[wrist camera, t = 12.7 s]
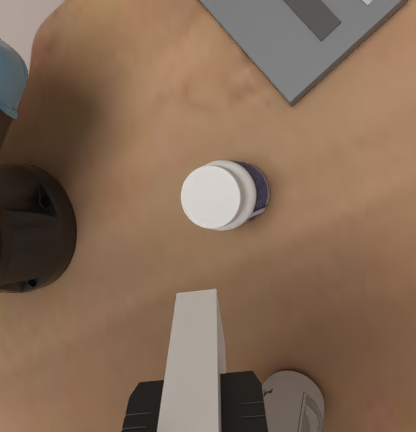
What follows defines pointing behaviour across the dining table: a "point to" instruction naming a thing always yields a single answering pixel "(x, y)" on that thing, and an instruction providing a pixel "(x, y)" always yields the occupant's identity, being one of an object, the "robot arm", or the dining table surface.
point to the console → (300, 35)
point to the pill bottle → (225, 194)
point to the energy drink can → (292, 403)
